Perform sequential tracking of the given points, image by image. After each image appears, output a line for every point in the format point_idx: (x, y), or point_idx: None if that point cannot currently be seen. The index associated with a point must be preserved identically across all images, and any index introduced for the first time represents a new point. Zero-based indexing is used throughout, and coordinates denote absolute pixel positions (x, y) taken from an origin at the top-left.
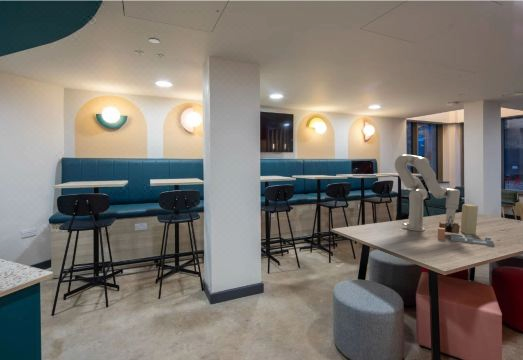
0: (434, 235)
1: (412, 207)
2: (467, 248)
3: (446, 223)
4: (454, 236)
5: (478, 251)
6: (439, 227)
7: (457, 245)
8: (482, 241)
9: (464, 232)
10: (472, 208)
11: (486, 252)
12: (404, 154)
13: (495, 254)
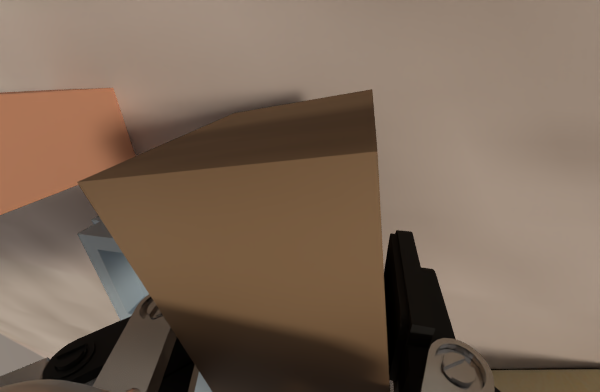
0: (166, 36)
1: None
2: (11, 274)
3: (222, 331)
4: (102, 260)
5: (15, 306)
6: (280, 114)
7: (13, 234)
8: (199, 384)
9: (505, 381)
10: None
11: (34, 330)
12: None
13: (41, 350)
